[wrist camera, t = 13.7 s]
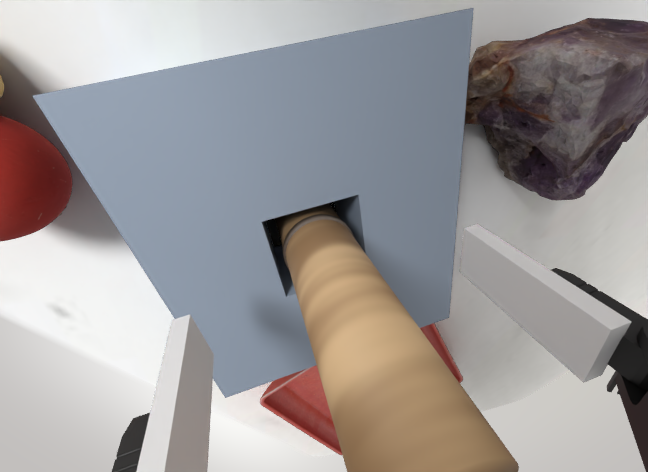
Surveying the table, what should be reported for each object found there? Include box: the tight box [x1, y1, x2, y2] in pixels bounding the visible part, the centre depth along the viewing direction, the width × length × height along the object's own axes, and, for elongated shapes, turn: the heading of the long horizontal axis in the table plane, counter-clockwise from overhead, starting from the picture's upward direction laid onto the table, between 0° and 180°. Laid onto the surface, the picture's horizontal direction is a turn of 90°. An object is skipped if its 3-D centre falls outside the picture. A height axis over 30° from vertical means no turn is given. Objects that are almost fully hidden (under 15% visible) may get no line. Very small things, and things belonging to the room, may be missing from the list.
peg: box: [274, 203, 519, 472], centre depth 15 cm, size 4×4×18 cm
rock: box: [464, 18, 648, 200], centre depth 19 cm, size 12×9×10 cm
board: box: [33, 8, 473, 398], centre depth 20 cm, size 20×18×6 cm
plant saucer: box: [260, 323, 463, 455], centre depth 33 cm, size 18×18×3 cm
